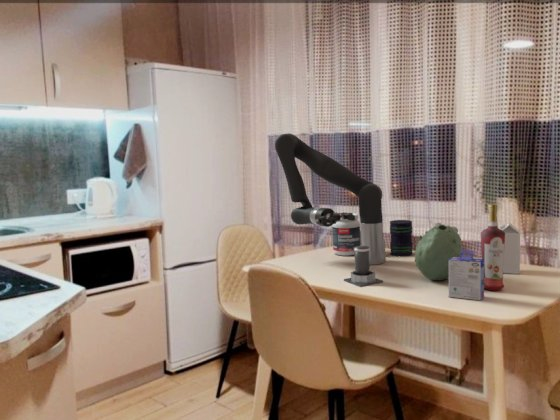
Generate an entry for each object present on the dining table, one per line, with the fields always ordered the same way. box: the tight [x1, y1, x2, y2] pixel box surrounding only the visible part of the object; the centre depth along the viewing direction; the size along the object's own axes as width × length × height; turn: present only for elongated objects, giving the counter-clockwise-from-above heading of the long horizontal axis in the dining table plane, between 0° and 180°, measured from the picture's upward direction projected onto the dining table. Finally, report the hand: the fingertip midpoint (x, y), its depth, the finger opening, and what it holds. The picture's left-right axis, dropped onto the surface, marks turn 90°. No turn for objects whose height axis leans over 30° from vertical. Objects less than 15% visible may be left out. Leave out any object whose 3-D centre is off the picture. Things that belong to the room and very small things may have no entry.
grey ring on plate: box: [343, 270, 384, 287], centre depth 176 cm, size 10×10×3 cm
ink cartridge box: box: [448, 250, 485, 301], centre depth 152 cm, size 10×6×14 cm, turn 58°
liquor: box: [480, 203, 505, 292], centre depth 158 cm, size 7×7×28 cm
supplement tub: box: [331, 212, 361, 257], centre depth 225 cm, size 13×13×18 cm
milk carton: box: [498, 219, 521, 275], centre depth 179 cm, size 7×7×19 cm
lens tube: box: [354, 245, 371, 275], centre depth 176 cm, size 5×5×12 cm
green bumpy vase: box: [414, 222, 464, 281], centre depth 173 cm, size 16×19×20 cm
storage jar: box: [389, 219, 414, 257], centre depth 218 cm, size 10×10×15 cm
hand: (344, 219), depth 184 cm, fingers open, 8 cm apart
